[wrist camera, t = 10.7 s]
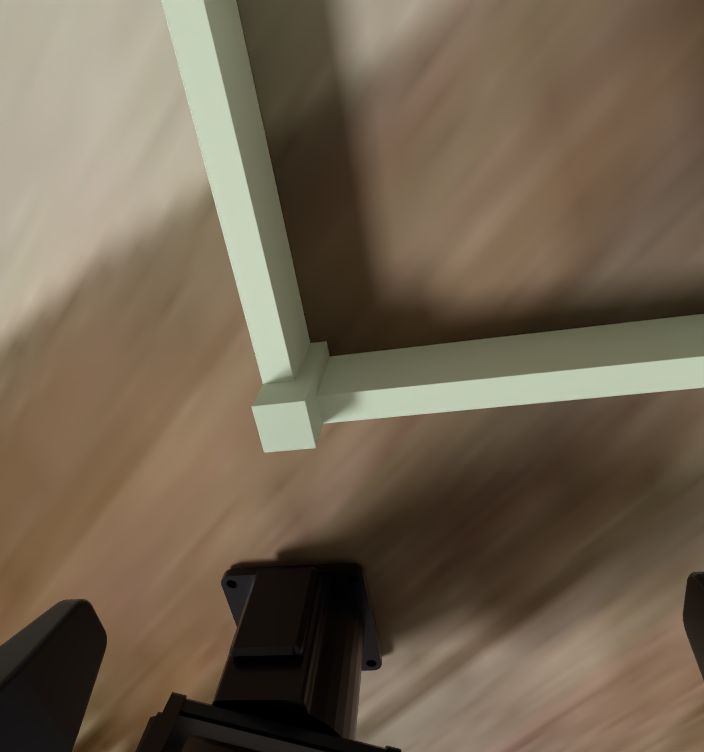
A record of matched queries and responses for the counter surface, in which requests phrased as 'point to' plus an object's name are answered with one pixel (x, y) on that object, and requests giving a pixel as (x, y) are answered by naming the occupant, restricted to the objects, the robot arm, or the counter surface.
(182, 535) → the counter surface
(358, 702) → the robot arm
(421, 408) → the cold frame
